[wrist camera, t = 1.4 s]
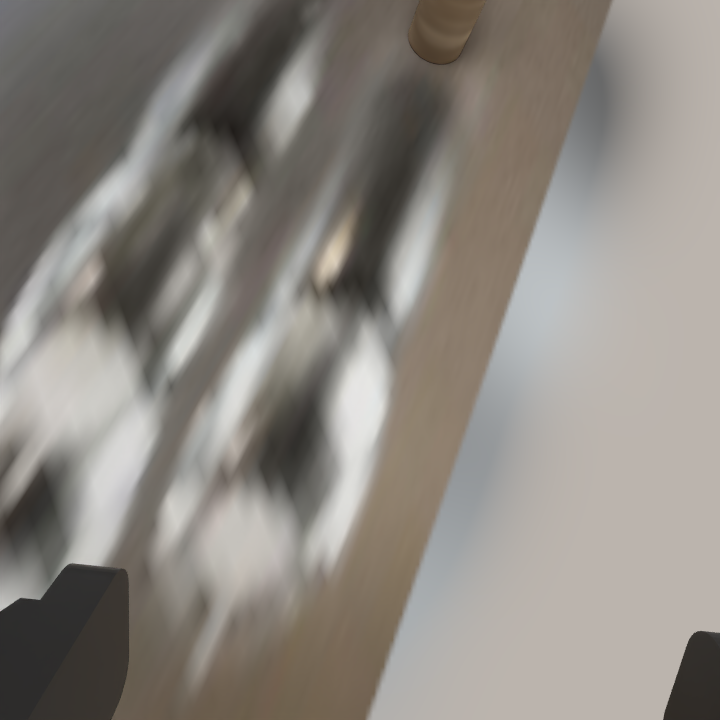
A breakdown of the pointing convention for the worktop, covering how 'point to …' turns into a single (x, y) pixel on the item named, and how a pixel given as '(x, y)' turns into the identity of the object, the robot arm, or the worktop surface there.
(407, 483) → the worktop surface
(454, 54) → the tan and brown blocks
